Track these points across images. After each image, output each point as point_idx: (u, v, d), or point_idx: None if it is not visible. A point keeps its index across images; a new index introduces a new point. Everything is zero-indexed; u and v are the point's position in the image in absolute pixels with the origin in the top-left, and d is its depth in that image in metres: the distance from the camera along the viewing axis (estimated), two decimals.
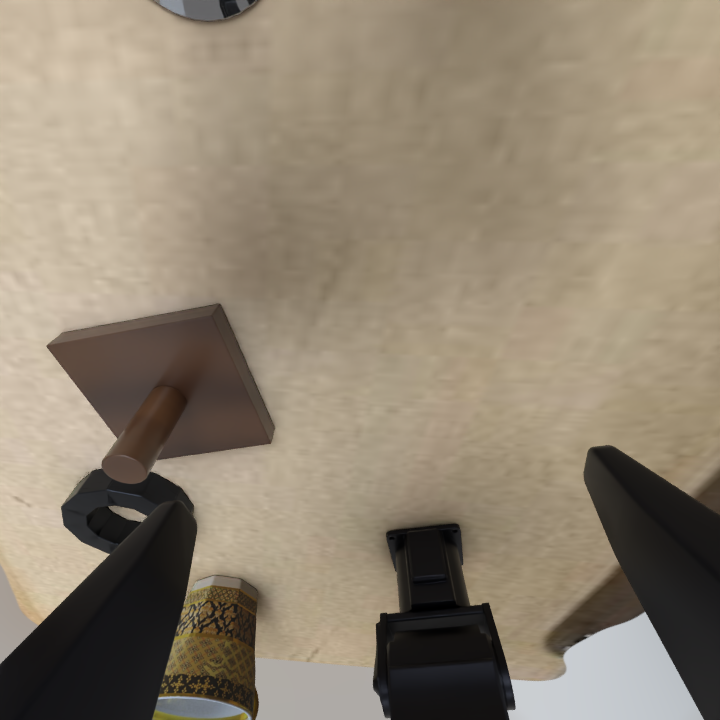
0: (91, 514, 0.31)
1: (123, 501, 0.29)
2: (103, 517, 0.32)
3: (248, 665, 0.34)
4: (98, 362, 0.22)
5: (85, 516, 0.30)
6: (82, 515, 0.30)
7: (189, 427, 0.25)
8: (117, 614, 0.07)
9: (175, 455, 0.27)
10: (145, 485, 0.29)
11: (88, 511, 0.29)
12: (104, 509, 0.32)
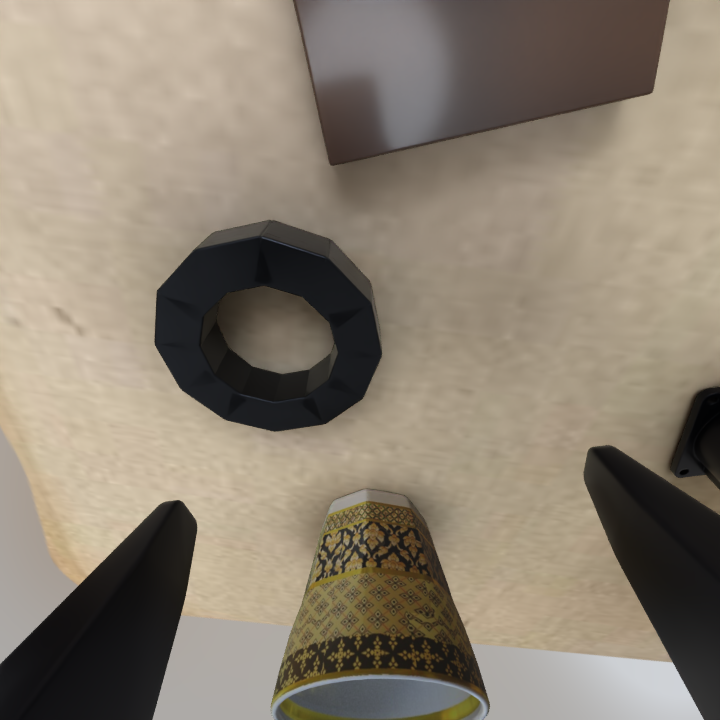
0: (206, 326, 0.16)
1: (286, 273, 0.14)
2: (218, 346, 0.17)
3: (462, 625, 0.19)
4: None
5: (200, 319, 0.15)
6: (195, 315, 0.15)
7: (491, 25, 0.11)
8: (117, 614, 0.07)
9: (424, 137, 0.12)
10: (325, 247, 0.14)
11: (209, 303, 0.15)
12: (219, 335, 0.18)
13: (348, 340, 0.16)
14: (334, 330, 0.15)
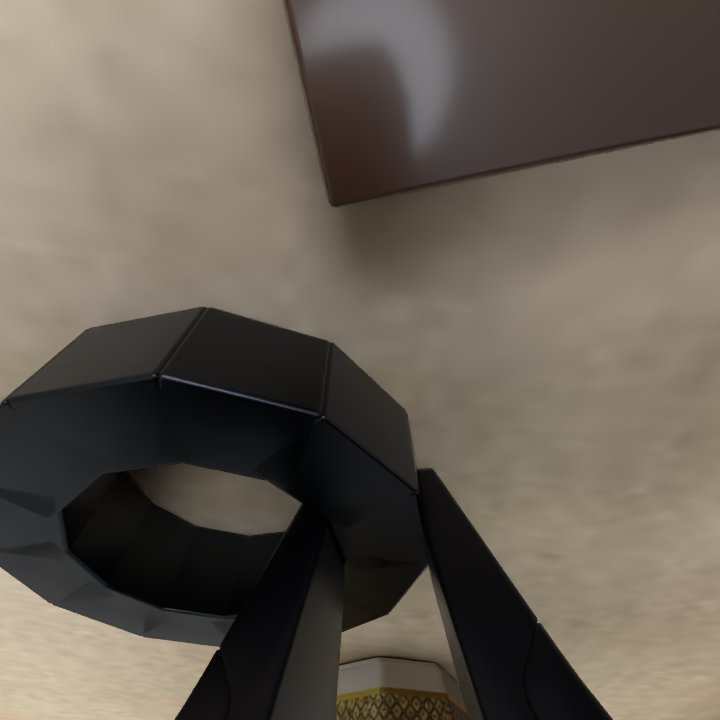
0: (84, 507, 0.08)
1: (229, 443, 0.06)
2: (124, 517, 0.09)
3: None
4: None
5: (57, 513, 0.07)
6: (43, 509, 0.07)
7: None
8: (315, 595, 0.06)
9: (594, 134, 0.04)
10: (320, 375, 0.07)
11: (68, 492, 0.07)
12: (128, 492, 0.10)
13: (366, 544, 0.08)
14: (337, 531, 0.07)
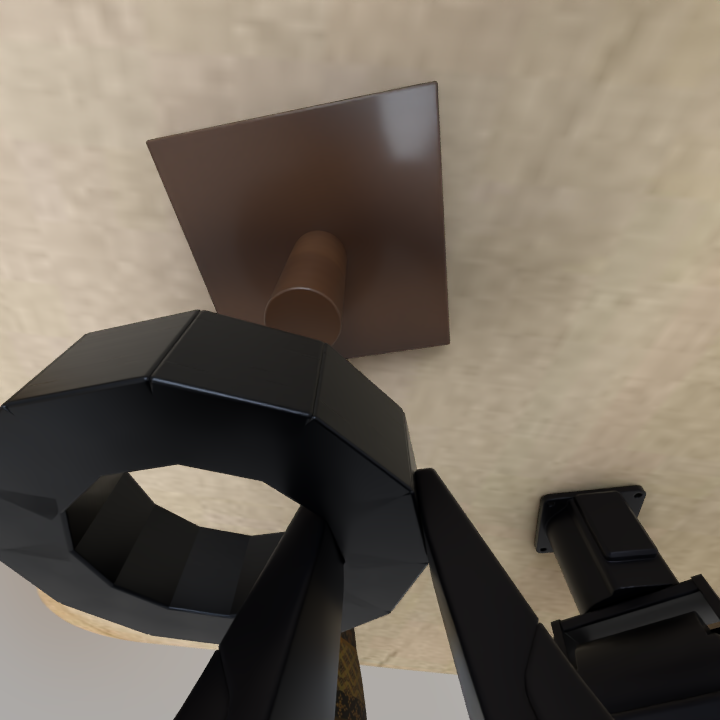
0: (87, 509, 0.08)
1: (223, 444, 0.06)
2: (129, 517, 0.10)
3: (356, 671, 0.25)
4: (224, 179, 0.14)
5: (60, 515, 0.07)
6: (47, 511, 0.07)
7: None
8: (314, 595, 0.06)
9: None
10: (312, 376, 0.07)
11: (69, 493, 0.07)
12: (132, 493, 0.10)
13: (364, 544, 0.08)
14: (334, 530, 0.07)
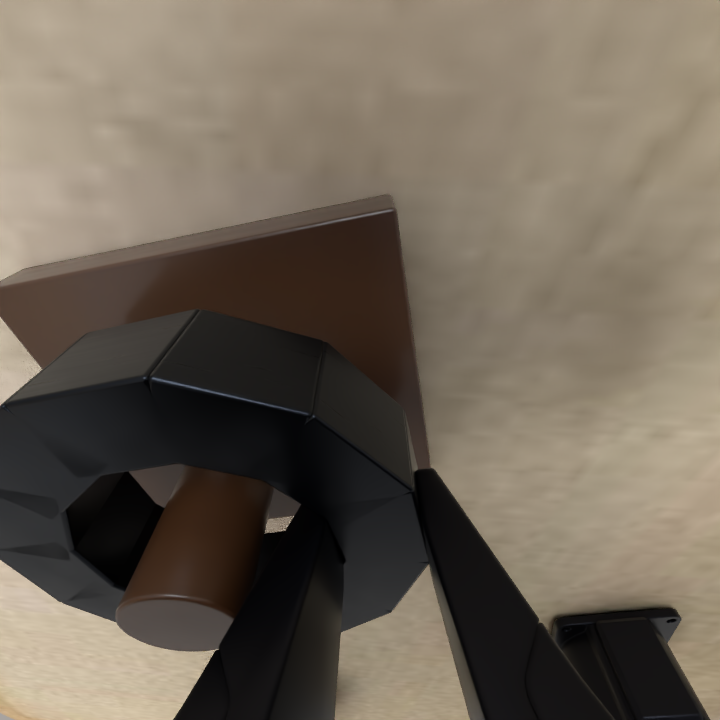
0: (87, 508, 0.08)
1: (222, 443, 0.06)
2: (130, 517, 0.10)
3: None
4: None
5: (60, 514, 0.07)
6: (47, 510, 0.07)
7: None
8: (314, 595, 0.06)
9: None
10: (311, 375, 0.07)
11: (69, 493, 0.07)
12: (133, 492, 0.10)
13: (364, 543, 0.08)
14: (335, 529, 0.07)
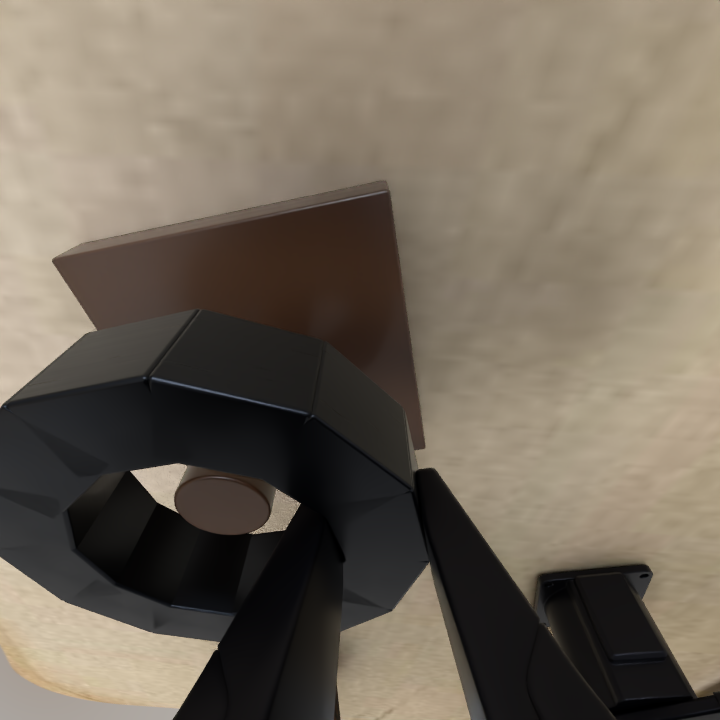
0: (89, 507, 0.08)
1: (222, 443, 0.06)
2: (131, 516, 0.10)
3: None
4: (148, 295, 0.12)
5: (62, 514, 0.07)
6: (49, 510, 0.07)
7: None
8: (313, 595, 0.06)
9: None
10: (311, 374, 0.07)
11: (70, 492, 0.07)
12: (134, 492, 0.10)
13: (365, 542, 0.08)
14: (335, 529, 0.07)
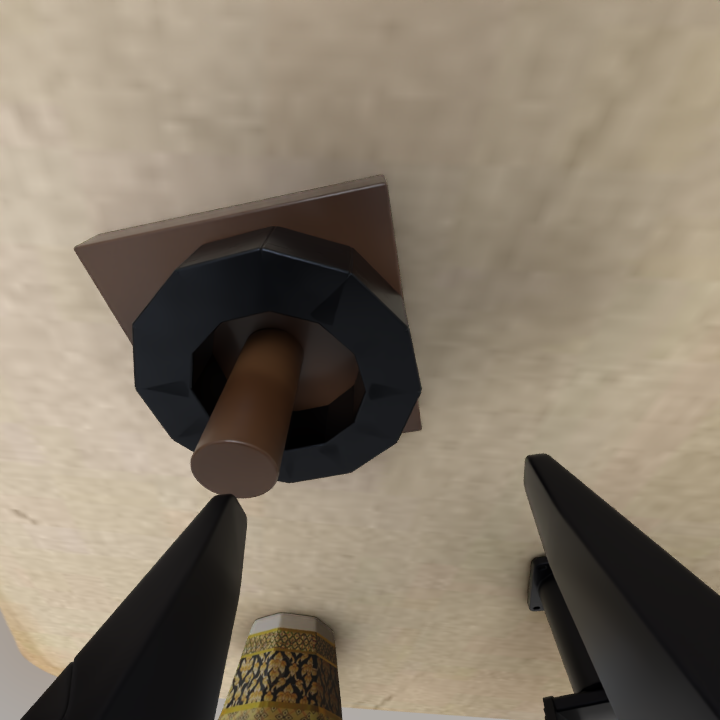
0: (199, 363, 0.13)
1: (297, 294, 0.11)
2: (216, 384, 0.14)
3: None
4: (163, 282, 0.13)
5: (189, 356, 0.12)
6: (183, 352, 0.12)
7: (298, 402, 0.16)
8: (184, 608, 0.07)
9: None
10: (347, 258, 0.11)
11: (200, 337, 0.11)
12: (217, 369, 0.14)
13: (379, 375, 0.12)
14: (361, 363, 0.12)
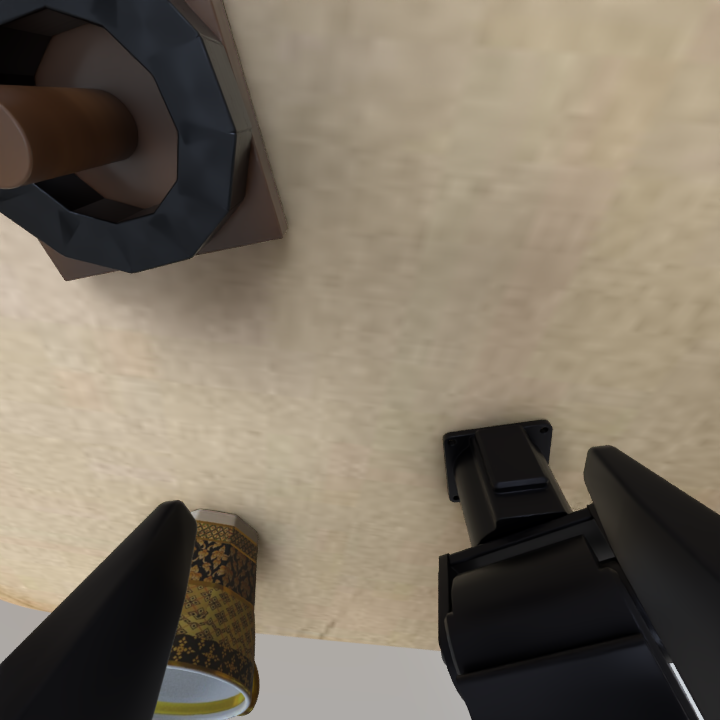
0: None
1: None
2: None
3: (245, 625, 0.24)
4: None
5: None
6: None
7: (146, 197, 0.15)
8: (117, 614, 0.07)
9: None
10: None
11: None
12: None
13: (185, 106, 0.12)
14: (161, 88, 0.11)
